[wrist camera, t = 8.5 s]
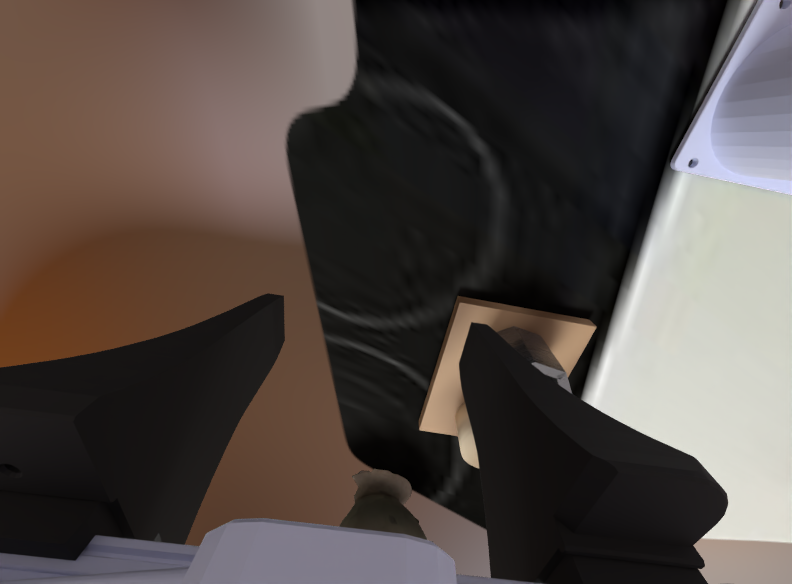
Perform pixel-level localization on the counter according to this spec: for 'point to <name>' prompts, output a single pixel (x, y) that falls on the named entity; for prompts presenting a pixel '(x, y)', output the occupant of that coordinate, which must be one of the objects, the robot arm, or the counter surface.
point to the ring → (536, 353)
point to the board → (557, 331)
